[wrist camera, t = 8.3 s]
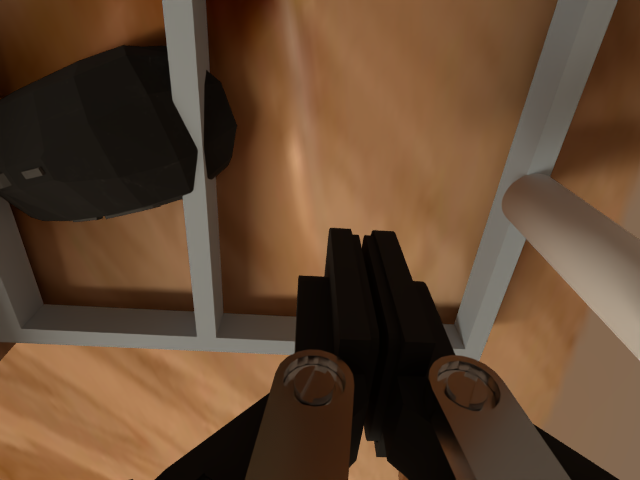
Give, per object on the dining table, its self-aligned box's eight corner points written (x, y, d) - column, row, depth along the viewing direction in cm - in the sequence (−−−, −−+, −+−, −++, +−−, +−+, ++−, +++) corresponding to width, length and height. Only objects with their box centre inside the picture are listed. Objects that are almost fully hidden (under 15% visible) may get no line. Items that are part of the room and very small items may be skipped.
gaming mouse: (-99, 126, 18) (-202, 150, 14) (204, 21, 16) (170, 19, 12) (-8, 244, 21) (-75, 288, 17) (259, 167, 19) (244, 199, 15)
